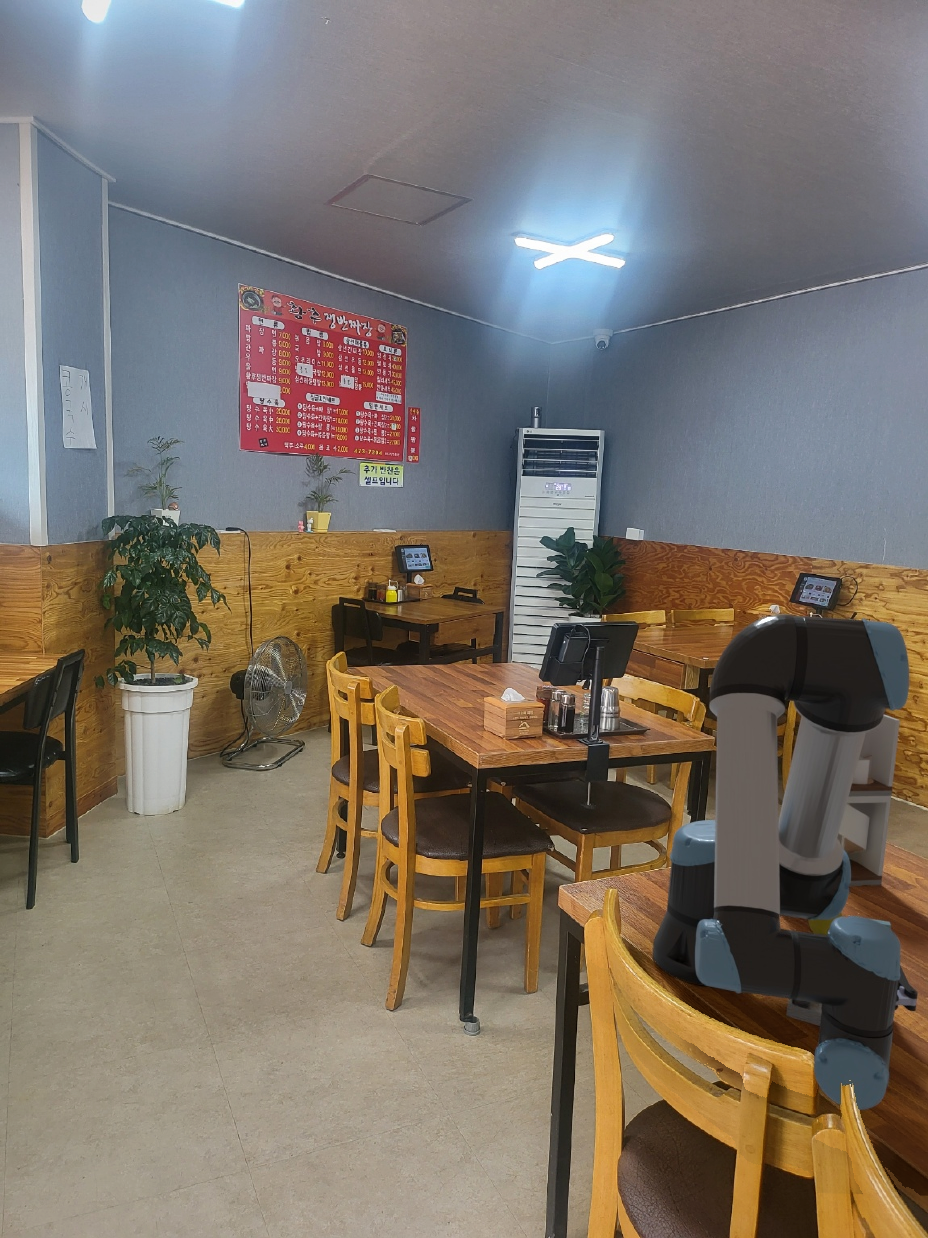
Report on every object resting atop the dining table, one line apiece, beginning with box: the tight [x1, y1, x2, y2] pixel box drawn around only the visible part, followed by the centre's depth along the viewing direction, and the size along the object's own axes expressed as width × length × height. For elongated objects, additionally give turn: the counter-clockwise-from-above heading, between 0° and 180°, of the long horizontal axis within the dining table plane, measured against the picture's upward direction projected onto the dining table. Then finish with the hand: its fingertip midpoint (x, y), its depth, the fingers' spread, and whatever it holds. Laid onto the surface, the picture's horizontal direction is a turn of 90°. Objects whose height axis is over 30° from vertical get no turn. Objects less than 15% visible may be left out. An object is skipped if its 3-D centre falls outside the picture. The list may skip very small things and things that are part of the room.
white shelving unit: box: [837, 714, 901, 887], centre depth 177 cm, size 11×11×35 cm
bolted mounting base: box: [786, 999, 822, 1027], centre depth 132 cm, size 20×12×4 cm, turn 151°
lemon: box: [807, 912, 843, 935], centre depth 150 cm, size 6×6×8 cm
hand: (871, 937), depth 127 cm, fingers closed
